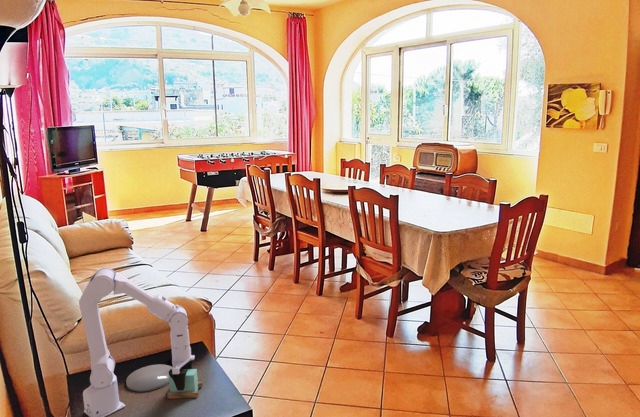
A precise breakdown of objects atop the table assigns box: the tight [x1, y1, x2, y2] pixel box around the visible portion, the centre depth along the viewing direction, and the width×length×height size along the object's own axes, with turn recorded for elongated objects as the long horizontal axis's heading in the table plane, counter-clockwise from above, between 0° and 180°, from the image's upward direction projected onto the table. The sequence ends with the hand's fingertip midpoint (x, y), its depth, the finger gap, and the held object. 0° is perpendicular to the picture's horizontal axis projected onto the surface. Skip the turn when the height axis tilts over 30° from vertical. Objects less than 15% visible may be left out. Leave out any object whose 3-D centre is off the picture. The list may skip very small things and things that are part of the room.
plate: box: [125, 363, 173, 393], centre depth 159 cm, size 16×16×1 cm
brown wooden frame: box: [164, 381, 204, 400], centre depth 150 cm, size 10×7×2 cm, turn 91°
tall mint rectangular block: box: [169, 368, 199, 392], centre depth 150 cm, size 8×4×7 cm, turn 91°
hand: (184, 383), depth 150 cm, fingers open, 7 cm apart
